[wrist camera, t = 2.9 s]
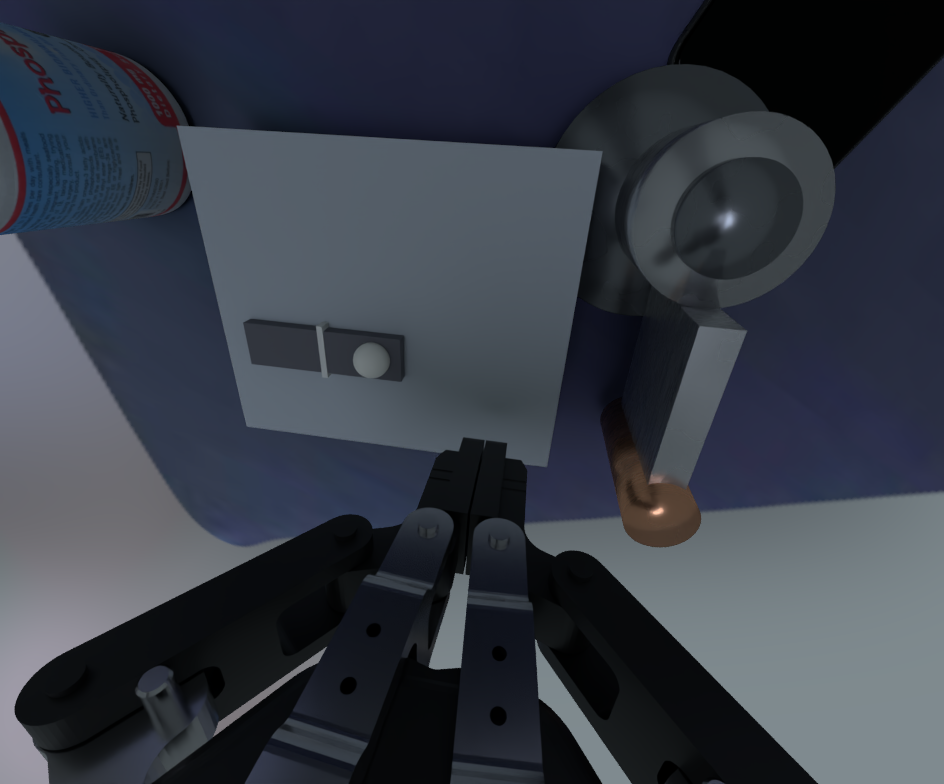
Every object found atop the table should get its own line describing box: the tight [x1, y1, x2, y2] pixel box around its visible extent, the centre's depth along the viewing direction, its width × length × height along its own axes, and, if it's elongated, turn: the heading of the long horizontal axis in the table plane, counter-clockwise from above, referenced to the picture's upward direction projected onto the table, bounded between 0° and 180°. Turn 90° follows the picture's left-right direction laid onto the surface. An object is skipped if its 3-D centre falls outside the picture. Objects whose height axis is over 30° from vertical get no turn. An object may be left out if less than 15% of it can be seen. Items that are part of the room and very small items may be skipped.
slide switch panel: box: [177, 126, 603, 467], centre depth 18 cm, size 12×14×6 cm
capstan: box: [555, 64, 835, 547], centre depth 15 cm, size 14×8×8 cm, turn 177°
